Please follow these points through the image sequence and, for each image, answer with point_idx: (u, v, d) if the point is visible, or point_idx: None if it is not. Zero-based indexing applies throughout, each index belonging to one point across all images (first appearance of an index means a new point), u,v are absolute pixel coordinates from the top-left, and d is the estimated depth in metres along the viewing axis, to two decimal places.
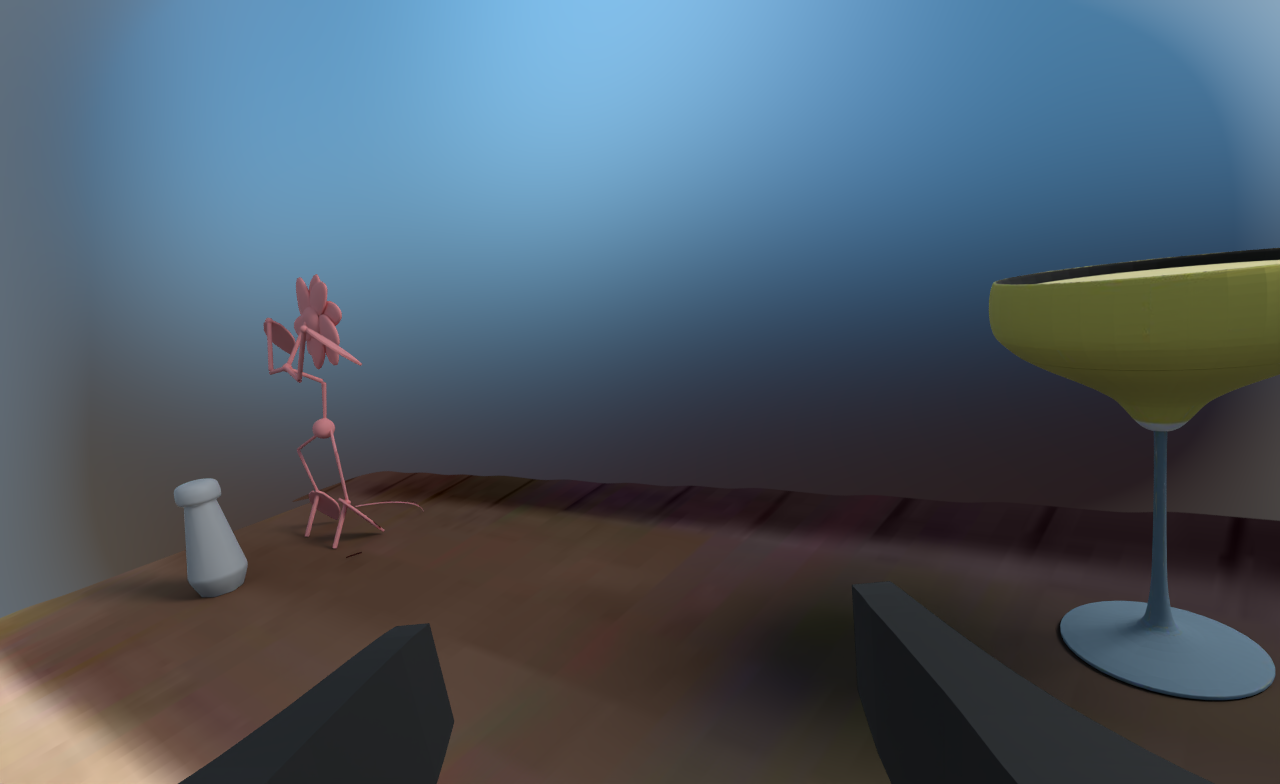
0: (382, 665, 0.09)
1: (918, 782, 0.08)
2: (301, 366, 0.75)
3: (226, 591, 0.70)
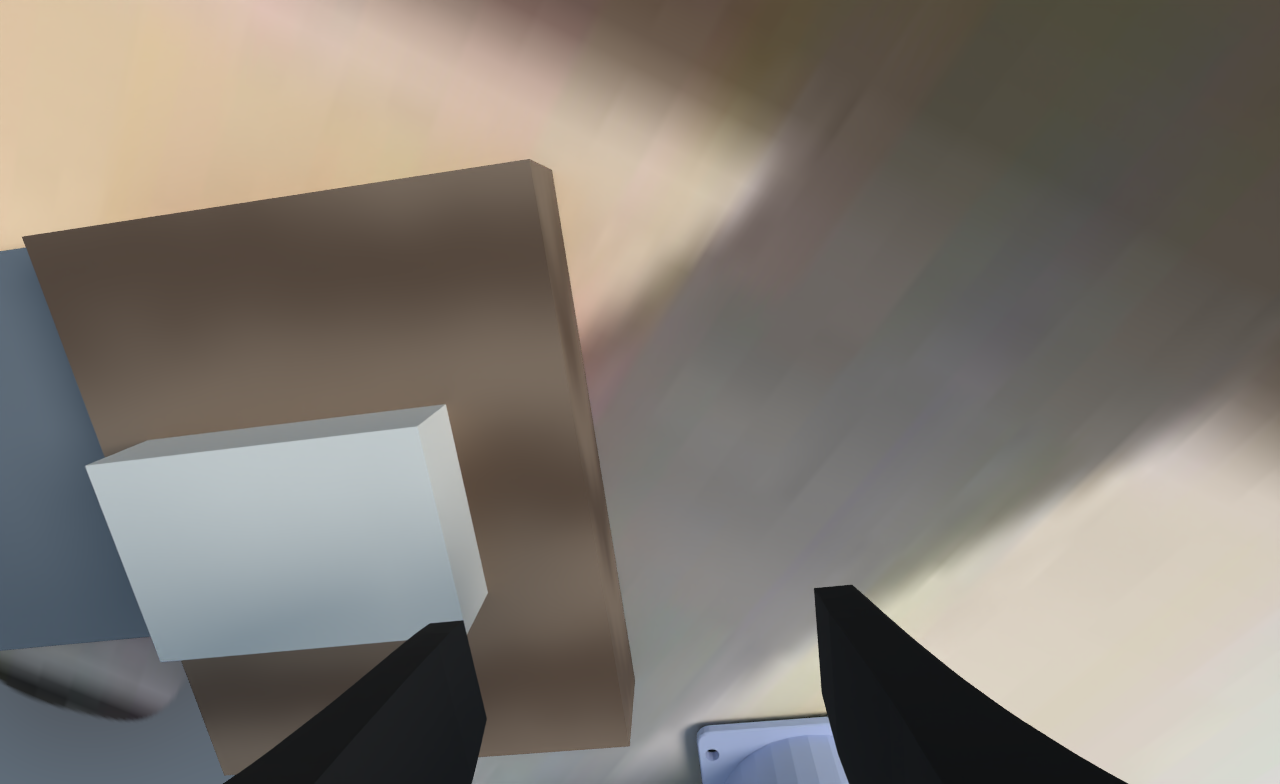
0: (421, 661, 0.09)
1: None
2: None
3: None
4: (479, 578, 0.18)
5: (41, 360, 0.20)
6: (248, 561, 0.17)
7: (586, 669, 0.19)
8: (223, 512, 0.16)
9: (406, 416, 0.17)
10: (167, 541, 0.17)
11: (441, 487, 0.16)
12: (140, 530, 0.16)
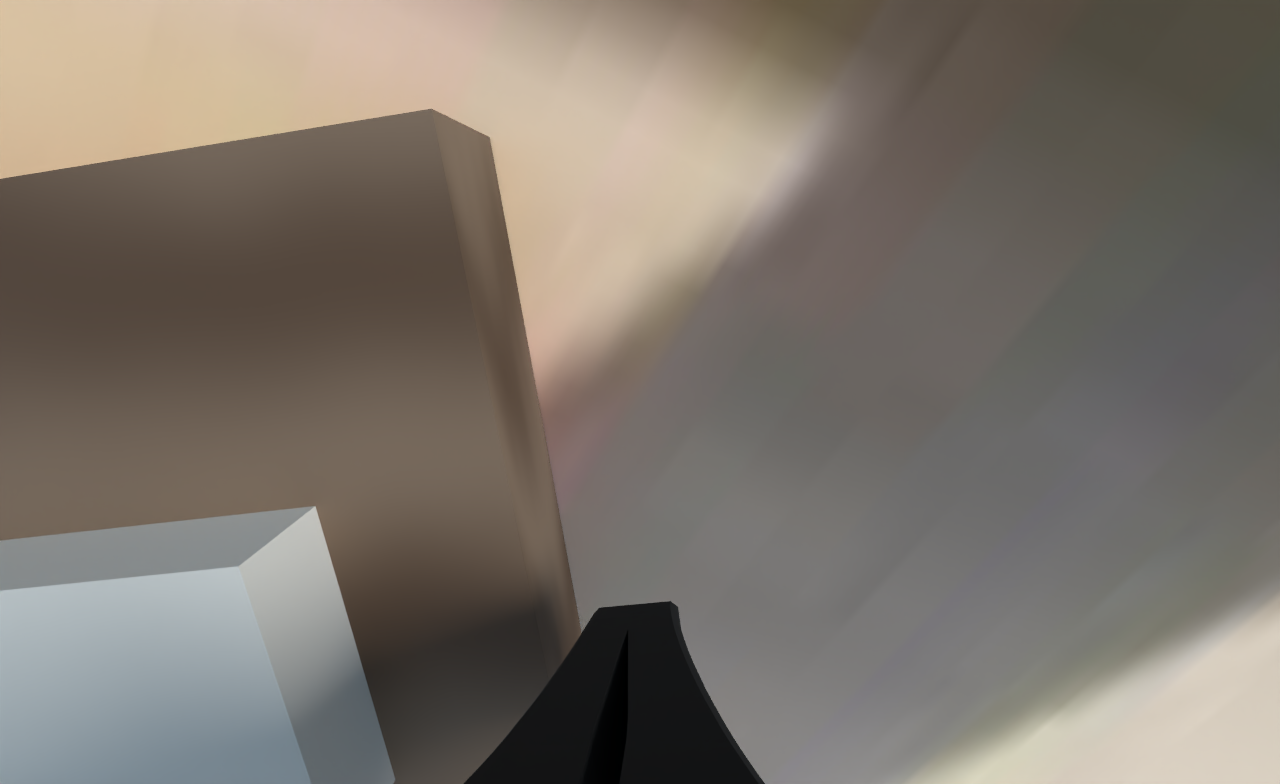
0: (621, 644, 0.09)
1: None
2: None
3: None
4: (376, 767, 0.12)
5: None
6: None
7: None
8: None
9: (241, 533, 0.10)
10: None
11: (297, 651, 0.10)
12: None
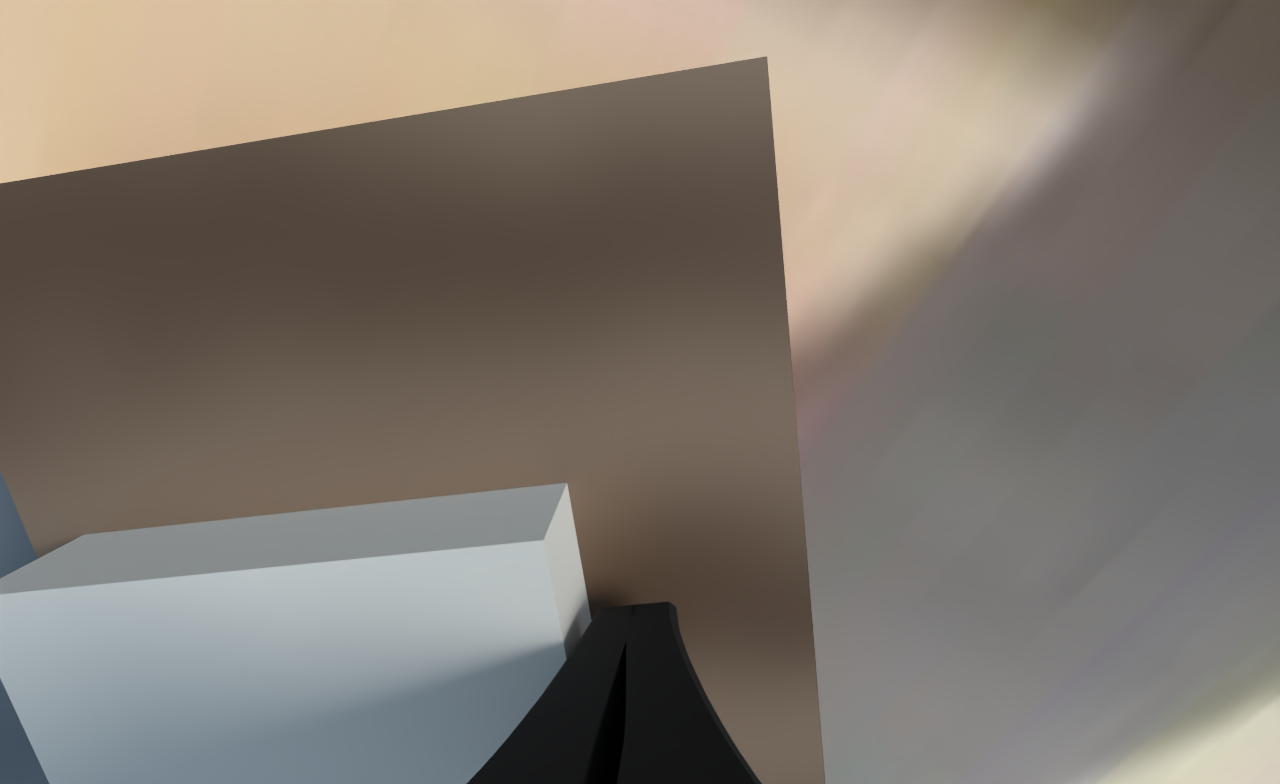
0: (623, 643, 0.09)
1: None
2: None
3: None
4: None
5: None
6: (244, 752, 0.10)
7: None
8: (201, 675, 0.10)
9: (510, 509, 0.10)
10: (107, 719, 0.10)
11: (571, 631, 0.10)
12: (61, 700, 0.10)
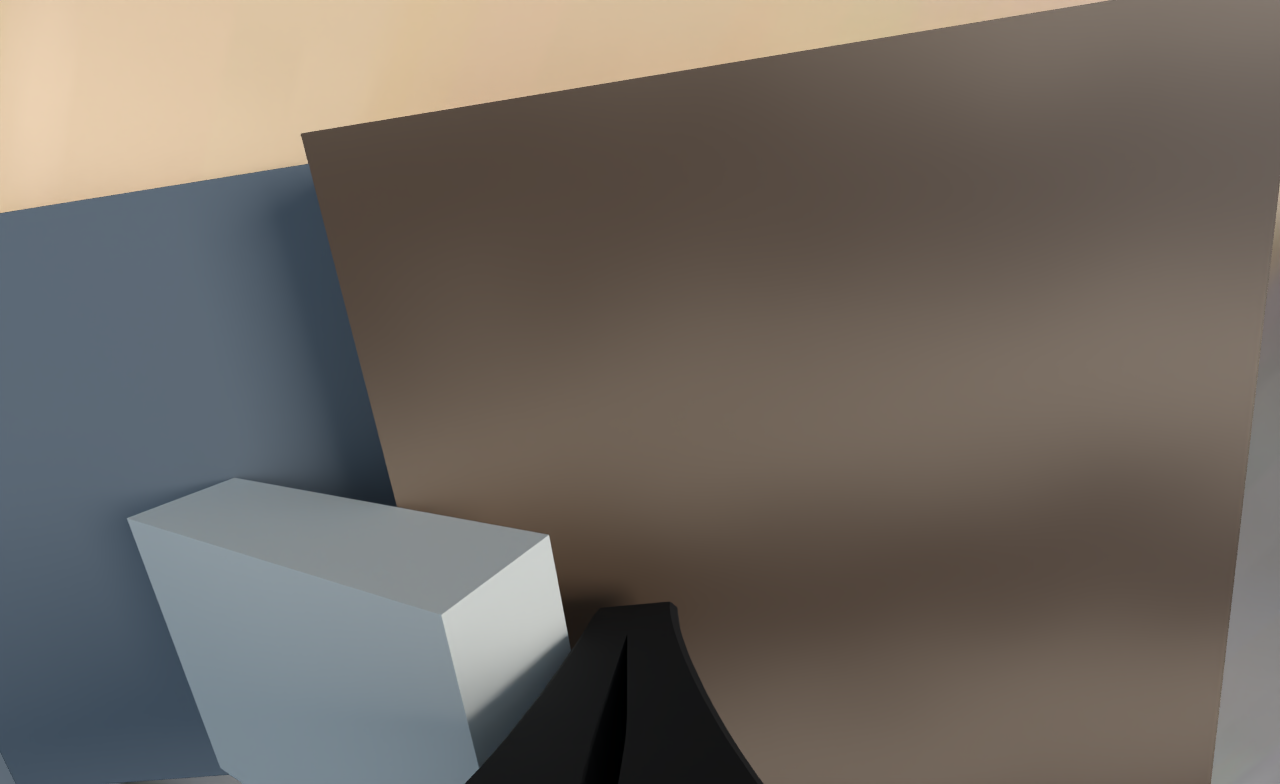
0: (622, 644, 0.09)
1: None
2: None
3: None
4: None
5: (254, 356, 0.13)
6: (270, 706, 0.11)
7: None
8: (238, 632, 0.11)
9: (467, 556, 0.09)
10: (200, 640, 0.12)
11: (504, 714, 0.08)
12: (178, 613, 0.12)
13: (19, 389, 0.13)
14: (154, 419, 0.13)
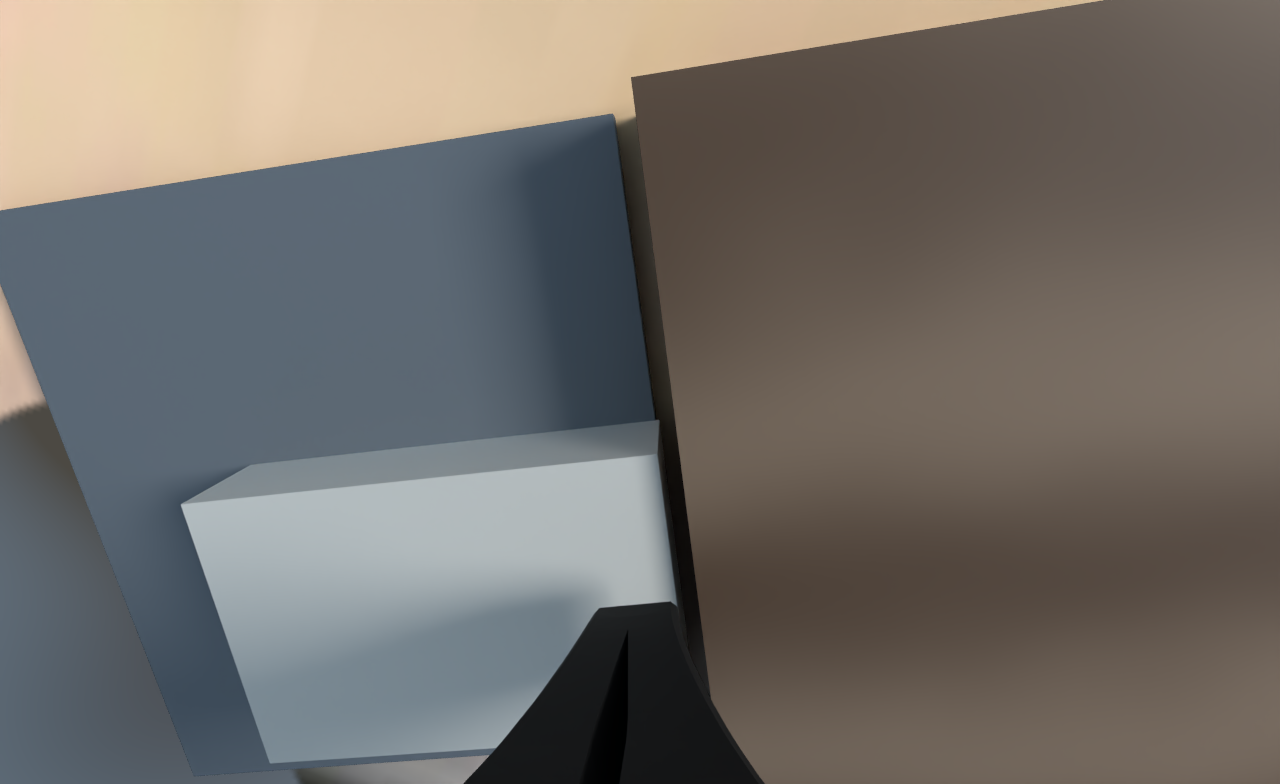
0: (620, 644, 0.09)
1: None
2: None
3: None
4: None
5: (487, 323, 0.12)
6: (400, 634, 0.12)
7: None
8: (370, 569, 0.12)
9: (618, 437, 0.12)
10: (289, 607, 0.12)
11: (670, 535, 0.12)
12: (253, 591, 0.12)
13: (236, 358, 0.13)
14: (375, 390, 0.13)
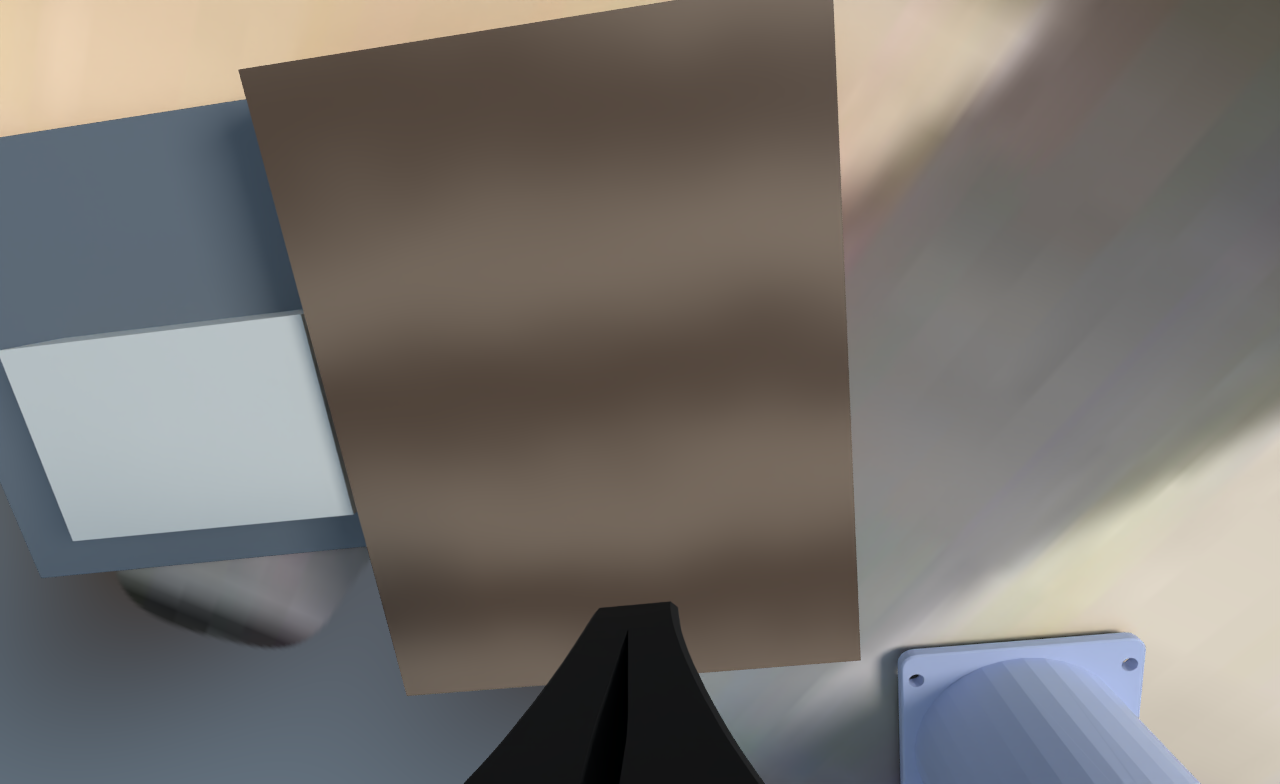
0: (620, 643, 0.09)
1: None
2: None
3: None
4: None
5: (215, 236, 0.18)
6: (150, 443, 0.18)
7: (823, 573, 0.18)
8: (126, 396, 0.18)
9: (297, 311, 0.18)
10: (75, 424, 0.18)
11: None
12: (50, 412, 0.18)
13: (47, 261, 0.19)
14: (144, 283, 0.19)
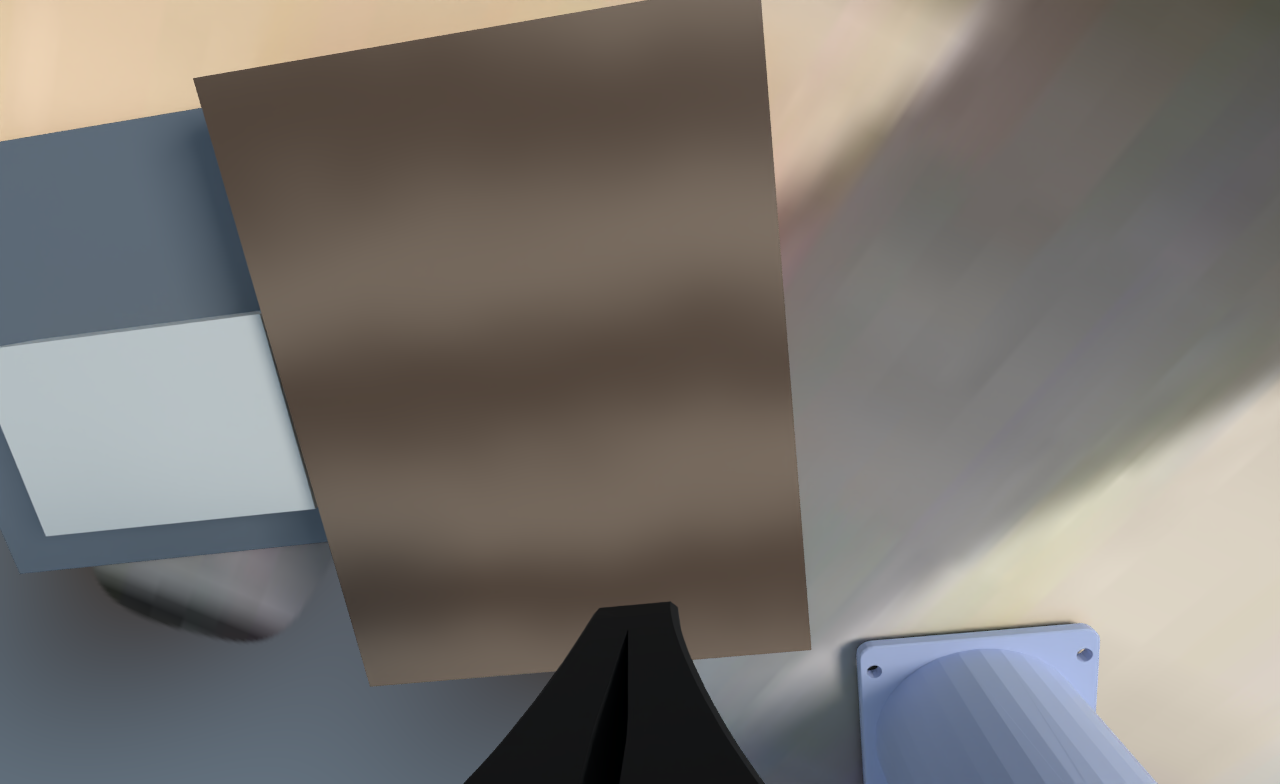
0: (620, 643, 0.09)
1: None
2: None
3: None
4: None
5: (181, 239, 0.19)
6: (119, 440, 0.19)
7: (771, 564, 0.18)
8: (94, 394, 0.18)
9: (260, 312, 0.19)
10: (46, 422, 0.19)
11: None
12: (21, 411, 0.18)
13: (21, 265, 0.19)
14: (114, 286, 0.19)
